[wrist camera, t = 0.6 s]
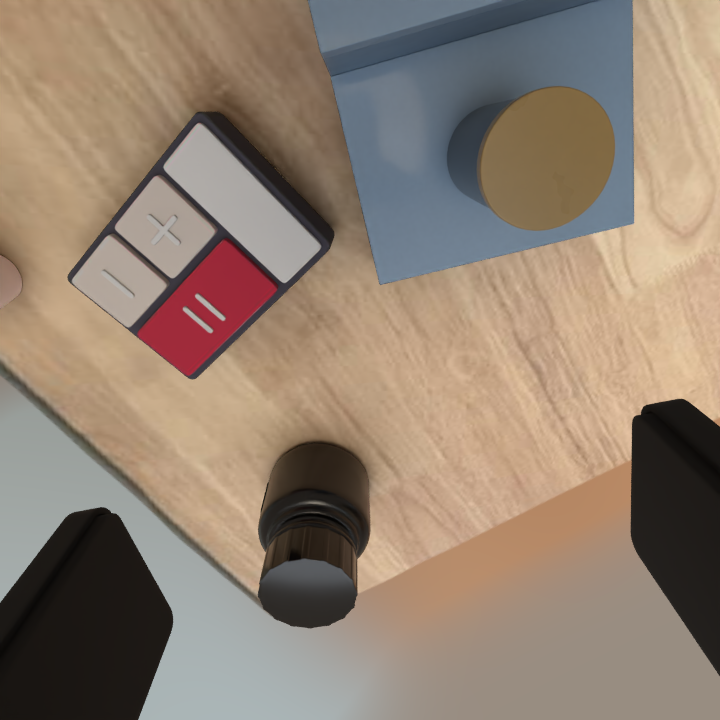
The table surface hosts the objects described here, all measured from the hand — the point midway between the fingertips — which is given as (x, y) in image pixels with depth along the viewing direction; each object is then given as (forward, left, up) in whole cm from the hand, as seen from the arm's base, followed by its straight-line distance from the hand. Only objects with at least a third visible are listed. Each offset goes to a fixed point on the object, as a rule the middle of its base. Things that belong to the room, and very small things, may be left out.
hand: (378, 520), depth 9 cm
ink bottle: (+21, -9, -29) cm, 36 cm away
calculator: (-1, -11, -29) cm, 31 cm away
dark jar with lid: (-3, +8, -24) cm, 25 cm away
